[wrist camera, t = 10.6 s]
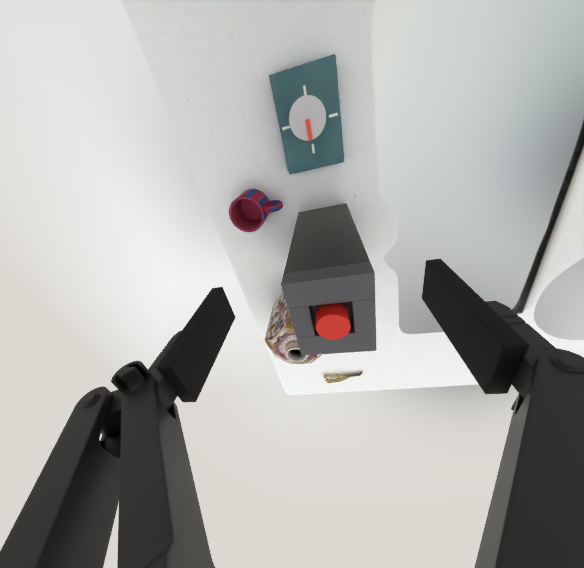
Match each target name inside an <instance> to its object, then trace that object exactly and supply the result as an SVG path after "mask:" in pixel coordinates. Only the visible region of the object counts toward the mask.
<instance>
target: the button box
mask: <svg viewBox="0 0 584 568" xmlns="http://www.w3.org/2000/svg"><path fill="white" fill-rule="evenodd" d="M281 286H282V289H283V293H284V296H285V300H286V303H287V307H288V310H289V314H290V317H291V321H292V324H293V328H294V331H295V335H296V338H297V342H298V345H299V349H300V352H301V355H314V354H330V353H345V352H360V351H376V317H375V278H374V270H373V268H372V266H371V263H370V261H369V258H368V256H367V253H366V251H365V248H364V246H363V243H362V241H361V239H360V236H359V234H358V231H357V229H356V226H355V224H354V221H353V219H352V216H351V214H350V212H349V209H348V207H347V204H341V205H336V206H331V207H326V208H321V209H315V210H310V211H305V212H300V213H299V214H298V218H297V222H296V226H295V230H294V234H293V238H292V242H291V247H290V251H289V255H288V259H287V263H286V267H285V271H284V275H283V279H282V283H281ZM332 303H340V304H342V305H344V306H345V307H346V308H347V310H348V314H349V320H350V326H351V328H350V331H349V333H348V334H347V335H346V336H344V337H343V338H340V339H335V340H331V339H326V338H324V337H322V336H320V335H319V334H318V332H317V331H316V311H317V309H318V308H319V307H320V306H321V305H323V304H332Z"/></svg>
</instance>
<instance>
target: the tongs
mask: <svg viewBox="0 0 584 568" xmlns="http://www.w3.org/2000/svg"><path fill="white" fill-rule="evenodd" d="M361 374H362V372H360V373H354V374H334V375H325V376H324V378H326V377H330V378H332V377H335V378H337V379H334V380H328V379H326V381H327V383H331V382H333V381H334V382H340V381H343V380H345V379H347V378H349V377H353V376H360V375H361ZM343 376H346V377H343ZM338 377H339V378H338ZM340 377H342V378H340Z"/></svg>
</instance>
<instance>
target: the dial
mask: <svg viewBox="0 0 584 568" xmlns="http://www.w3.org/2000/svg"><path fill="white" fill-rule="evenodd" d="M289 123H290V127H291V130H292V132H293V133H294V135H295V136H296V137H297V138H299V139H301V140H304V141H309V140H313V139H315V138H316V137H318V136H319V135H320V134H321V132H322V131H323V129H324V126H325V123H326V111H325V107H324V105H323V103H322V102H321V101H320V100H319V99H318V98H317V97H315V96H312V95H304V96H302V97H300V98H298V99H297V100H296V101H295V102H294V104H293V105H292V107H291V110H290V114H289Z"/></svg>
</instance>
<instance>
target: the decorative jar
mask: <svg viewBox="0 0 584 568" xmlns="http://www.w3.org/2000/svg"><path fill="white" fill-rule="evenodd" d="M265 342H266V343H267V345H268V347H269V348H270V349H271V350H272V352H273V353H274V355H275V356H277V357H278V358H280V359H282V360H283V361H286V362H288V363H291V364H305V363H312V362H313V361H315V360H316V359H317V358H319V357H320V356H321V355H322V354H314V355H301V352H300V349H299V345H298V342H297V338H296V335H295V331H294V328H293V324H292V321H291V317H290V314H289V310H288V307H287V303H286V300H285V296H284V293H283V295H282V296H281V297H280V298H279V299H278V301H277V302H276V303H275V304H274V306H273V309H272V312H271V317H270V321H269V325H268V329H267V333H266V337H265Z"/></svg>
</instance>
